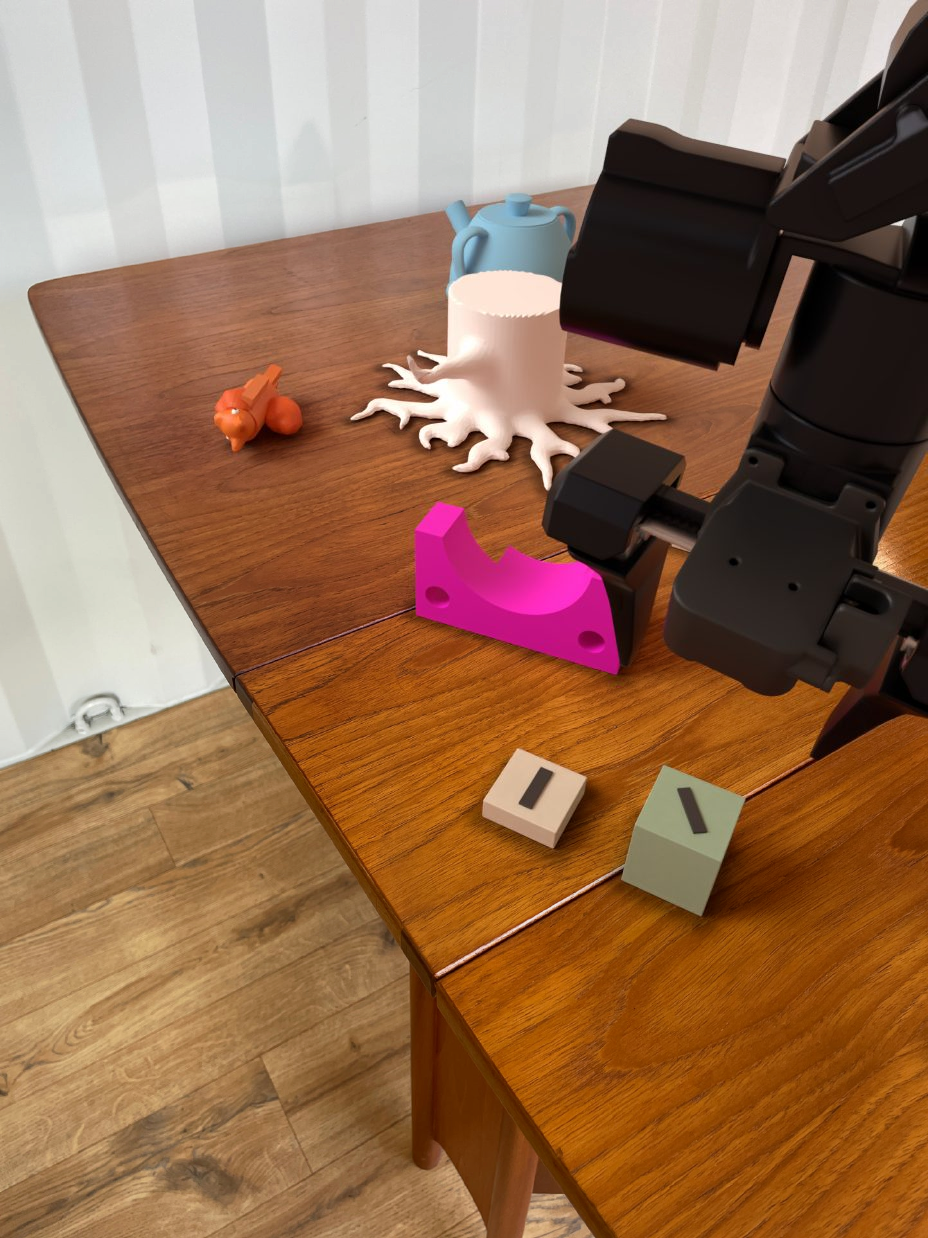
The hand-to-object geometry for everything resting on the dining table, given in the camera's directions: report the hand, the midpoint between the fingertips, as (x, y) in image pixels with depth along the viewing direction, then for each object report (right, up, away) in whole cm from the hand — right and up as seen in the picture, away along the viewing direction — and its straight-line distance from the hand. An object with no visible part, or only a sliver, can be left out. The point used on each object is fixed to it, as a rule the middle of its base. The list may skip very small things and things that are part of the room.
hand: (718, 705), depth 41 cm
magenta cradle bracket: (-7, +4, +24) cm, 25 cm away
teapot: (-7, +43, +70) cm, 82 cm away
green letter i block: (0, -10, +8) cm, 12 cm away
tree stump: (-9, +25, +49) cm, 55 cm away
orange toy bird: (-30, +22, +43) cm, 57 cm away
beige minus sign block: (-8, -7, +11) cm, 15 cm away
